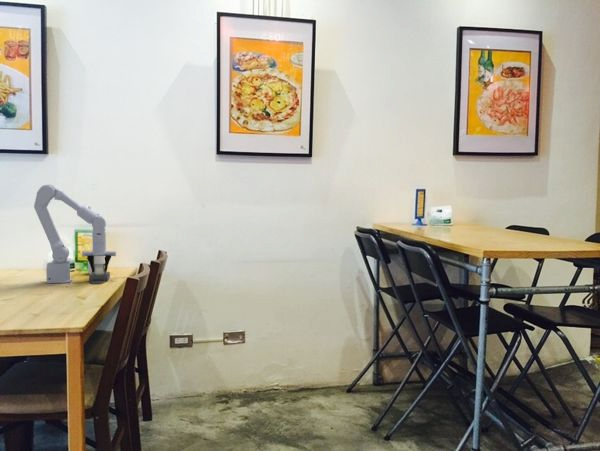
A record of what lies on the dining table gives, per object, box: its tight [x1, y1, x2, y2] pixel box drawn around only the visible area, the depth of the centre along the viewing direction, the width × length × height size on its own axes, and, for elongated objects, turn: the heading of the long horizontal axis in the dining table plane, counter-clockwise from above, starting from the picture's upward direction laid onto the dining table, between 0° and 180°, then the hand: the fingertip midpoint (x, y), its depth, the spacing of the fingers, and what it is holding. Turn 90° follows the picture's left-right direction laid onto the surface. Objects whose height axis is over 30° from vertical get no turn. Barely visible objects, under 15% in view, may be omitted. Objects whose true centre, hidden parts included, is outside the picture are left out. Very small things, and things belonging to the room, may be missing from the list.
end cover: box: [94, 262, 105, 274], centre depth 235 cm, size 5×5×7 cm
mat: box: [89, 281, 105, 285], centre depth 228 cm, size 6×6×1 cm
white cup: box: [87, 254, 105, 275], centre depth 251 cm, size 8×8×10 cm
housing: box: [88, 271, 111, 283], centre depth 236 cm, size 8×8×3 cm
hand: (99, 271), depth 235 cm, fingers closed on end cover, 5 cm apart
